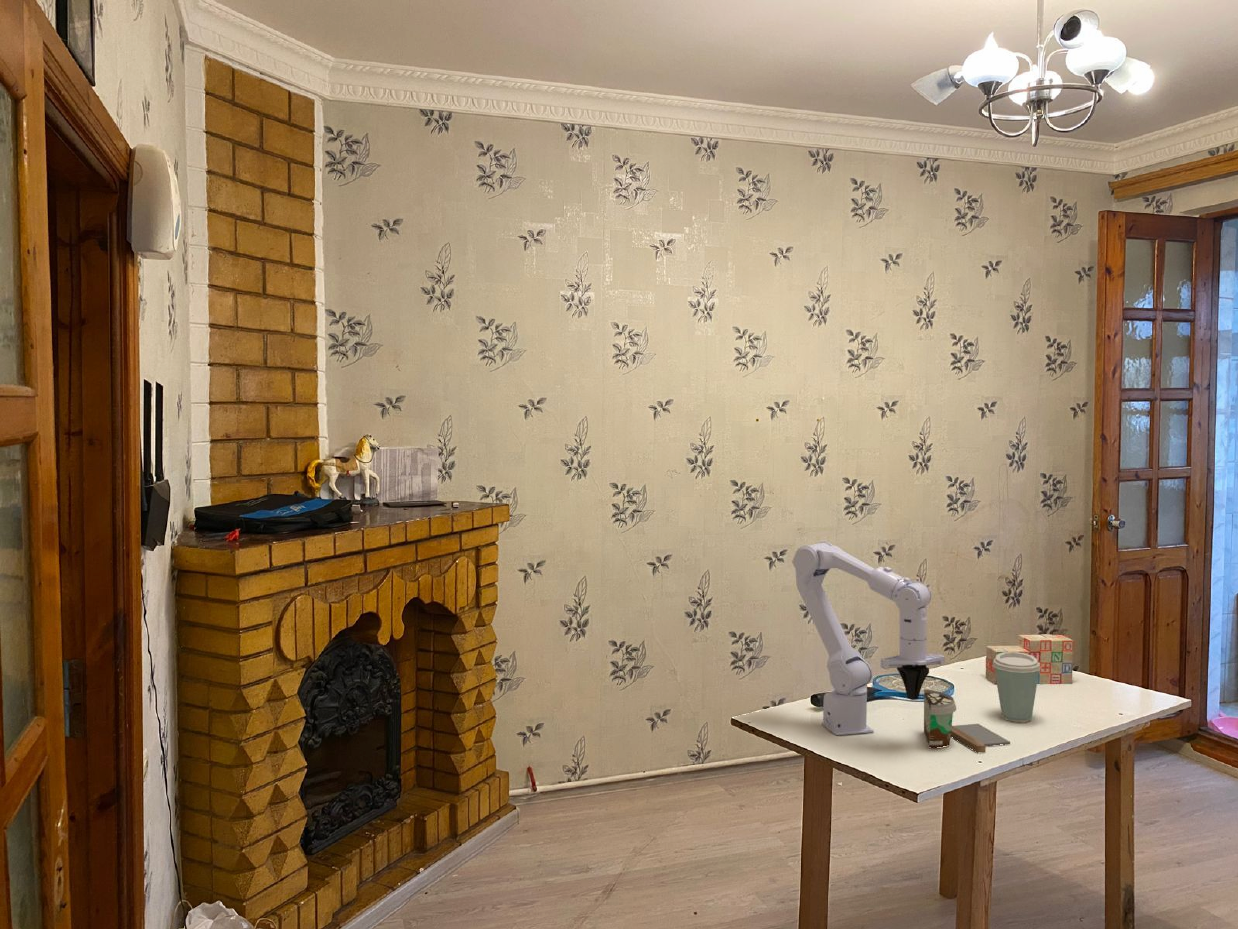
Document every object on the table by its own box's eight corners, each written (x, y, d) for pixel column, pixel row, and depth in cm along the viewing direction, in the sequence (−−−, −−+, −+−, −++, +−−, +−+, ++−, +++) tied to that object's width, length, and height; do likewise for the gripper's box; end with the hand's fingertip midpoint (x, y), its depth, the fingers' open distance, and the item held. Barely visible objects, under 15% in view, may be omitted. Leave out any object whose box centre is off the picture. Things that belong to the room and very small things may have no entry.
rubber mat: (978, 747, 201) (978, 744, 201) (947, 728, 213) (947, 726, 213) (1010, 744, 203) (1010, 742, 203) (978, 726, 214) (978, 723, 214)
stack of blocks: (995, 685, 246) (996, 640, 246) (985, 678, 253) (986, 634, 252) (1072, 684, 247) (1074, 639, 246) (1060, 677, 253) (1061, 633, 253)
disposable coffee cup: (1044, 727, 213) (1046, 664, 213) (995, 724, 216) (996, 661, 215) (1034, 712, 224) (1035, 652, 223) (987, 709, 226) (989, 650, 225)
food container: (959, 752, 198) (960, 707, 197) (930, 750, 199) (931, 705, 199) (951, 733, 210) (951, 690, 209) (923, 731, 211) (923, 688, 211)
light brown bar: (977, 753, 198) (977, 746, 198) (936, 728, 213) (936, 721, 213) (985, 752, 198) (985, 745, 198) (944, 727, 214) (944, 721, 214)
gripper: (892, 644, 196) (891, 706, 197) (952, 640, 199) (952, 701, 200) (876, 636, 203) (875, 696, 204) (935, 632, 206) (934, 692, 207)
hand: (912, 698), depth 202 cm, fingers closed
